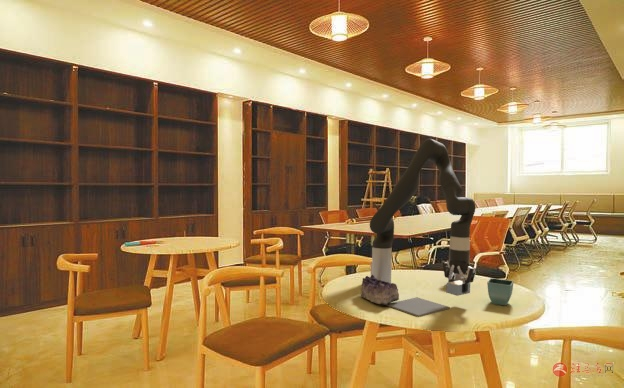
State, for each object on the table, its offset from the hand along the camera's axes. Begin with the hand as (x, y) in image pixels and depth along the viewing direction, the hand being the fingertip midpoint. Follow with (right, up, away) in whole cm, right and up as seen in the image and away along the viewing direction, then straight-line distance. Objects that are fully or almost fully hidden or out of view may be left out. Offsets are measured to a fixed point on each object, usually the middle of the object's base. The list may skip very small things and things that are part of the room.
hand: (458, 290), depth 158 cm
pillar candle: (+13, -6, +36) cm, 39 cm away
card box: (0, -1, 0) cm, 1 cm away
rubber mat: (-16, -6, -2) cm, 18 cm away
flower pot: (+18, -6, +4) cm, 20 cm away
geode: (-31, -5, +6) cm, 32 cm away
